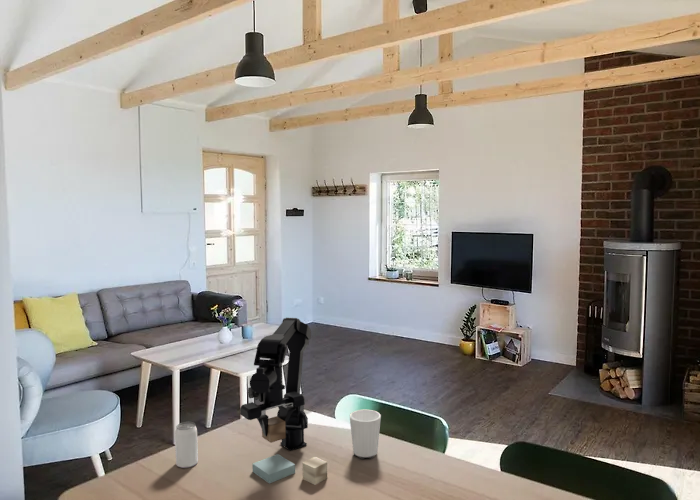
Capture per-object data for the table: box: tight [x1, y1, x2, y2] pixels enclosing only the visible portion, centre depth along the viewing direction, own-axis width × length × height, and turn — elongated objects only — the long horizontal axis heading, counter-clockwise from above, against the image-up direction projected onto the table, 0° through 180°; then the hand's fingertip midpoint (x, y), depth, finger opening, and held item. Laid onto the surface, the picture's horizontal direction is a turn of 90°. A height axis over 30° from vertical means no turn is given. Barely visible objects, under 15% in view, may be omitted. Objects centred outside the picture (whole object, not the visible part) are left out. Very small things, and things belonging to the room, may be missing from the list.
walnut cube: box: [261, 416, 286, 444], centre depth 158 cm, size 5×5×5 cm
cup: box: [349, 408, 382, 460], centre depth 169 cm, size 10×10×13 cm
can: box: [174, 421, 199, 469], centre depth 164 cm, size 6×6×12 cm
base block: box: [252, 453, 296, 485], centre depth 159 cm, size 9×9×3 cm
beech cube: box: [302, 456, 328, 486], centre depth 155 cm, size 5×5×5 cm
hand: (273, 433), depth 158 cm, fingers closed on walnut cube, 5 cm apart
